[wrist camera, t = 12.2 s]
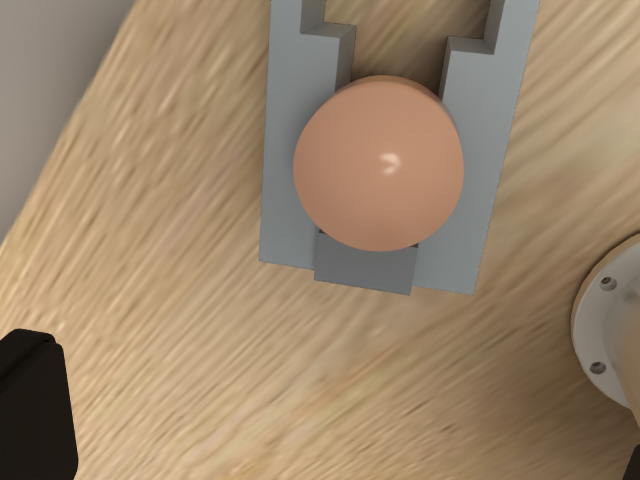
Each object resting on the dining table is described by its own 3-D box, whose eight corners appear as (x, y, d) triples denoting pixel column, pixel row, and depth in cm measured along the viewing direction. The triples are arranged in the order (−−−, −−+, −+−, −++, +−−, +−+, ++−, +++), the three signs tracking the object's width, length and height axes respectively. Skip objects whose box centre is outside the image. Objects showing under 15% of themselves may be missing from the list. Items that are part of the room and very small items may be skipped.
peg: (456, 187, 32) (463, 251, 24) (330, 190, 33) (301, 252, 26) (457, 54, 29) (465, 82, 22) (320, 63, 30) (284, 93, 23)
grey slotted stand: (466, 243, 34) (474, 305, 28) (285, 216, 35) (253, 270, 29) (534, -73, 27) (564, -85, 21) (305, -92, 28) (269, -109, 22)
